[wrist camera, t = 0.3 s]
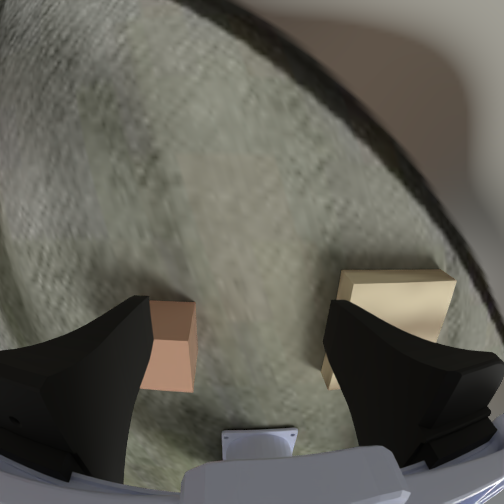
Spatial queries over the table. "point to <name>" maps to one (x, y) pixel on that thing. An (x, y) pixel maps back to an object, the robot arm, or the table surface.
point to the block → (172, 347)
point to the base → (397, 301)
